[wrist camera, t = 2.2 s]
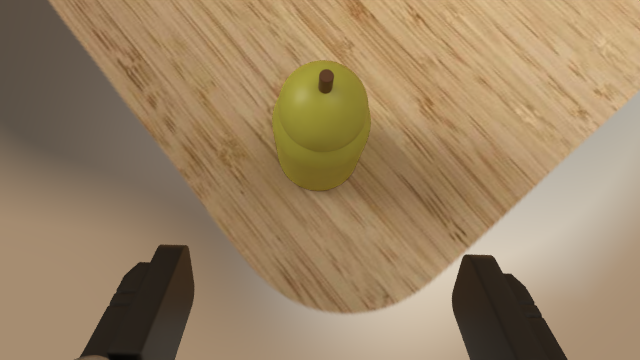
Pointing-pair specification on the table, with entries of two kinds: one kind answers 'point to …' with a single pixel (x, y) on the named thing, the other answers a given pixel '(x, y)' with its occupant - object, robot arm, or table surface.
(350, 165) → the pear
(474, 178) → the table surface
